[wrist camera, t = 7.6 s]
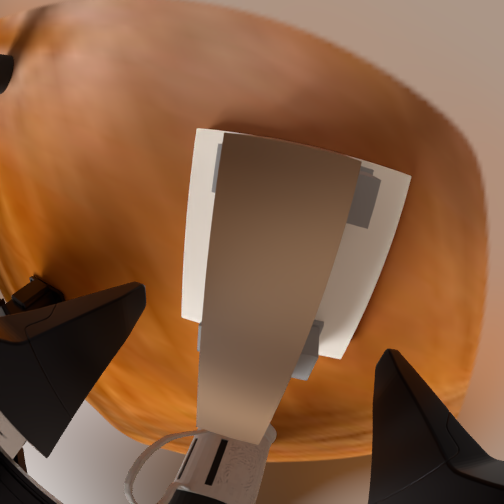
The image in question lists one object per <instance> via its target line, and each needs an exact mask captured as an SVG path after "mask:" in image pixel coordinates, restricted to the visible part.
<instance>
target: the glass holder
mask: <svg viewBox="0 0 504 504" xmlns="http://www.w3.org/2000/svg"><path fill="white" fill-rule="evenodd" d="M192 435H195V436H194V438H193V441H192V443H191V445H190V447H189V449H188V452H187V454H186V456H185V458H184V460H183V463H182V465H181V467H180V469H179V472H178V473H177V476H176V478H175V480H174V482H173V483H171V485H169V487H168V488H167V490H166V492H165V494H164V495H163V497H162V498H161V500H160V501H159V502H158V503H157V504H255V502H256V498H257V495H258V491H259V487H260V484H261V480H262V476H263V472H264V468H265V464H266V460H267V456H268V452H269V448H270V446H271V444H272V443H273V442H274V441H275V439H276V436H277V433H276V430H275V429H274V427H273V426H272V425H271V424H269V426H268V428H267V430H266V432H265V434H264V436H263V438H262V440H261V441H260V443H259V445H256V444H252V443H248V442H244V441H241V440H237V439H233V438H230V437H226V436H223V435H220V434H216V433H213V432H210V431H207V430H204V429H201V428H198V429H197V430H196V431H188V432H182V433H175V434H170V435H166V436H164V437H163V438H161V439H159V440H158V441H156V442H155V443H153V444H152V445H151V446H149V447H148V448H147V449H146V450H145V451H144V452H143V453H142V454H141V455H140V456H139V457H138V458H137V460H136V461H135V462H134V464H133V466H132V467H131V469H130V470H129V472H128V474H127V477H126V479H125V482H124V493H125V495H126V498H127V500H128V501H129V502H130V503H131V504H137V502H136V501H135V499H134V497H133V495H132V486H133V483H134V480H135V478H136V475H137V474H138V472H139V470H140V469H141V467H142V466H143V464H144V463H145V461H146V460H147V459H148V458H149V457H150V456H151V455H152V454H153V453H154V452H155V451H156V450H157V449H159V448H160V447H162V446H163V445H165V444H166V443H168V442H170V441H171V440H174V439H177V438H181V437H185V436H192Z"/></svg>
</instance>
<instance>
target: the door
mask: <svg viewBox="0 0 504 504" xmlns="http://www.w3.org/2000/svg"><path fill="white" fill-rule="evenodd" d="M361 163H362V161H359V160H357V159H354V158H351V157H349V156H346V155H343V154H341V153H338V152H335V151H331V150H327V149H323V148H319V147H315V146H310V145H306V144H301V143H297V142H292V141H287V140H282V139H277V138H271V137H264V136H255V135H246V134H236V133H224V136H223V143H222V149H221V156H220V162H219V169H218V176H217V183H216V191H215V198H214V206H213V214H212V222H211V231H210V240H209V249H208V258H207V268H206V278H205V289H204V300H203V312H202V325H201V339H200V355H199V373H198V394H197V424H196V427H198V428H201V429H204V430H207V431H210V432H213V433H216V434H220V435H223V436H226V437H230V438H233V439H237V440H241V441H244V442H248V443H252V444H256V445H259V443H260V441H261V440H262V438H263V436H264V434H265V432H266V430H267V428H268V426H269V424H270V422H271V419H272V417H273V415H274V413H275V411H276V409H277V407H278V405H279V403H280V401H281V398H282V396H283V394H284V392H285V390H286V387H287V385H288V383H289V381H290V378H291V376H292V374H293V371H294V369H295V367H296V364H297V362H298V359H299V357H300V355H301V352H302V350H303V347H304V345H305V342H306V340H307V337H308V335H309V332H310V329H311V327H312V324H313V322H314V319H315V316H316V314H317V311H318V308H319V305H320V303H321V300H322V297H323V294H324V291H325V288H326V285H327V283H328V280H329V277H330V274H331V271H332V267H333V264H334V261H335V258H336V255H337V252H338V249H339V245H340V242H341V239H342V235H343V232H344V229H345V225H346V222H347V218H348V214H349V211H350V207H351V203H352V200H353V196H354V192H355V188H356V184H357V180H358V176H359V172H360V167H361Z"/></svg>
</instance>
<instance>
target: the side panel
mask: <svg viewBox="0 0 504 504" xmlns="http://www.w3.org/2000/svg"><path fill="white" fill-rule="evenodd" d="M224 133H236V132H229V131H221V130H213V129H202V128H197V131H196V138H195V145H194V153H193V160H192V169H191V177H190V187H189V196H188V207H187V218H186V231H185V245H184V262H183V283H182V318H185V319H188V320H191V321H195V322H198V323H200V324H199V329H198V347H197V351H199V352H200V339H201V325H202V312H203V300H204V289H205V278H206V268H207V258H208V249H209V240H210V231H211V222H212V214H213V206H214V198H215V191H216V183H217V176H218V169H219V162H220V156H221V149H222V143H223V136H224ZM236 134H243V133H236ZM246 135H250V134H246ZM255 136H256V135H255ZM343 155H344V154H343ZM346 156H347V155H346ZM349 157H351V156H349ZM351 158H354V159H357V160H359V161H362V163H361V167H360V172H359V176H358V180H357V184H356V188H355V192H354V196H353V200H352V203H351V207H350V211H349V214H348V218H347V222H346V225H345V229H344V232H343V235H342V239H341V242H340V245H339V249H338V252H337V255H336V258H335V261H334V264H333V267H332V271H331V274H330V277H329V280H328V283H327V285H326V288H325V291H324V294H323V297H322V300H321V303H320V305H319V308H318V311H317V314H316V316H315V319H314V322H313V324H312V327H311V329H310V332H309V335H308V337H307V340H306V342H305V345H304V347H303V350H302V352H301V355H300V357H299V359H298V362H297V364H296V367H295V369H294V371H293V374H292V376H291V377H293V378H297V379H302V380H307V379H308V377H309V375H310V373H311V371H312V369H313V367H314V365H315V363H316V361H317V359H318V355H322V356H327V357H332V358H337V359H341V358H342V356H343V354H344V352H345V350H346V348H347V346H348V344H349V342H350V340H351V338H352V336H353V334H354V332H355V330H356V328H357V326H358V324H359V322H360V320H361V317H362V315H363V313H364V311H365V309H366V306H367V304H368V302H369V300H370V297H371V295H372V293H373V290H374V288H375V285H376V283H377V280H378V278H379V275H380V273H381V270H382V268H383V265H384V263H385V260H386V257H387V254H388V252H389V249H390V246H391V243H392V240H393V237H394V234H395V231H396V228H397V225H398V222H399V219H400V216H401V213H402V209H403V206H404V202H405V199H406V195H407V192H408V188H409V184H410V180H411V176H410V175H407V174H405V173H402V172H399V171H396V170H393V169H390V168H387V167H384V166H381V165H378V164H375V163H372V162H368V161H365V160H362V159H358V158H355V157H351Z"/></svg>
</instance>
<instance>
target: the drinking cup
mask: <svg viewBox="0 0 504 504" xmlns="http://www.w3.org/2000/svg"><path fill="white" fill-rule="evenodd" d="M12 70H13V57H12V56H10V55H2V54H0V94H1V93H3V92H4V91H5V89H6V87H7V85H8V83H9V81H10V78H11V74H12Z"/></svg>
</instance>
